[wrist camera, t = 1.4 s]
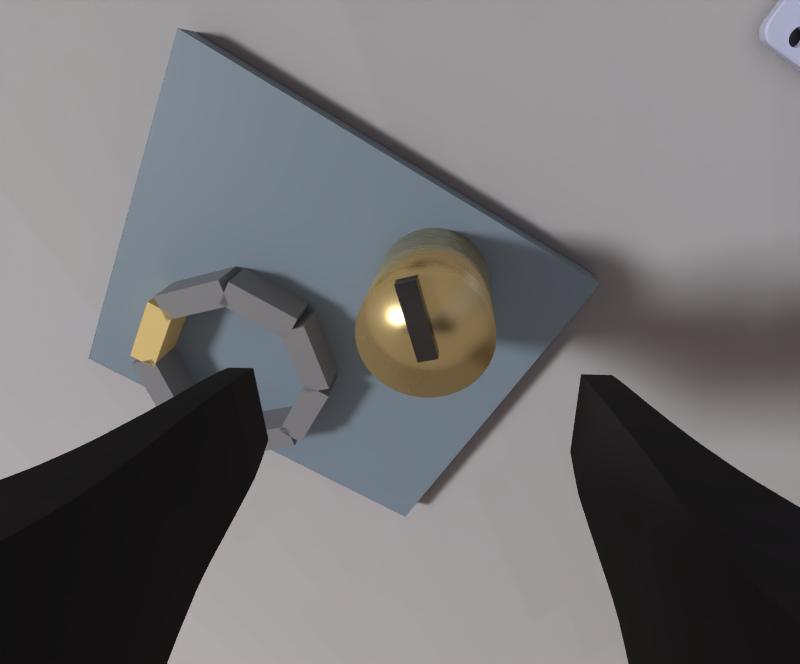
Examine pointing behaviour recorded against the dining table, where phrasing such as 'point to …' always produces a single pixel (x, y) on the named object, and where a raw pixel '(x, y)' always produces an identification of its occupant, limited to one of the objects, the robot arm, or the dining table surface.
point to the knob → (428, 315)
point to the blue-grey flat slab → (304, 275)
